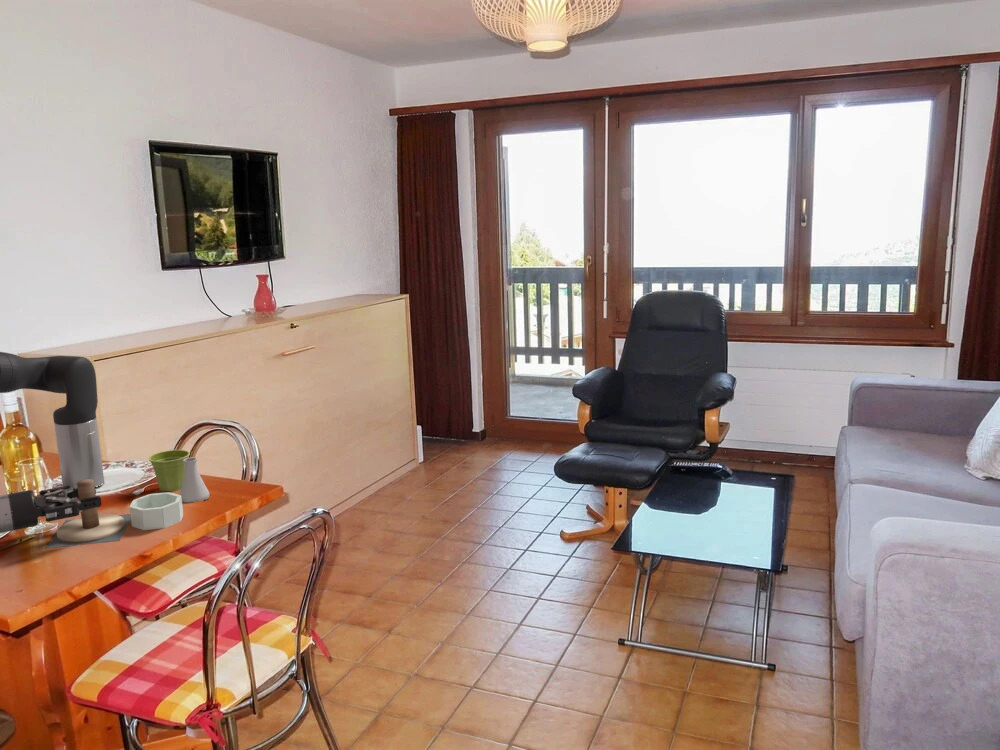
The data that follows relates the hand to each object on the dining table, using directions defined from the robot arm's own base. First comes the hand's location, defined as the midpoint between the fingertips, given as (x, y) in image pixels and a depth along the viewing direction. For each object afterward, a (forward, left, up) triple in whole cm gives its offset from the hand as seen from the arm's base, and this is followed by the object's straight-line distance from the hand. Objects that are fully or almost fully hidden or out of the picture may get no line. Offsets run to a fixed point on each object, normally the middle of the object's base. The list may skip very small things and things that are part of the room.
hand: (98, 495), depth 167 cm
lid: (+1, -2, -8) cm, 8 cm away
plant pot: (-23, +11, -8) cm, 27 cm away
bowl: (-1, +11, -8) cm, 14 cm away
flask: (-14, +17, -8) cm, 24 cm away
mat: (+1, -2, -8) cm, 8 cm away
